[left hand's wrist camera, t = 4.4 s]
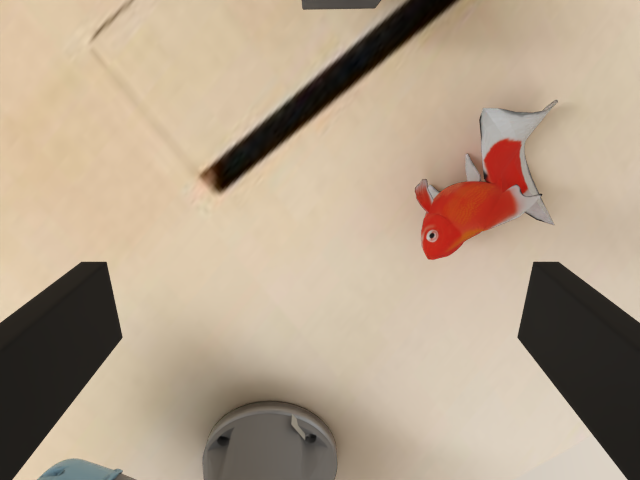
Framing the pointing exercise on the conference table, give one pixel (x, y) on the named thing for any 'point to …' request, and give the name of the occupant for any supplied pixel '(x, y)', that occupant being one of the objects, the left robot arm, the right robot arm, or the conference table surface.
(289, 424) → the left robot arm
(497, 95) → the conference table surface
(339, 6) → the bar
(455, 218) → the fish
